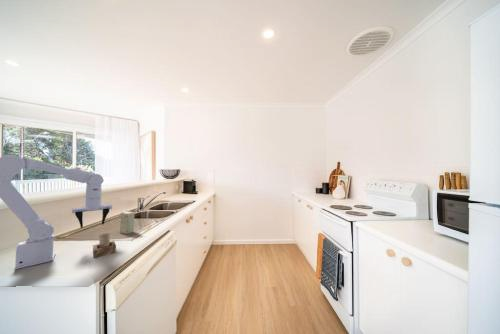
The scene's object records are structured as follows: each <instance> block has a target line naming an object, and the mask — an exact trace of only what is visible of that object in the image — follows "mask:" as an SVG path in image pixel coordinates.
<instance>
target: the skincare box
mask: <svg viewBox="0 0 500 334" xmlns="http://www.w3.org/2000/svg"><path fill="white" fill-rule="evenodd" d="M119 220H120V222H119V223H120V224H119V225H120V226H119V233H120V234H125V235H128V234H130V233H134V230H135V229H134V228H135V225H134V224H135V211H127V210H126V211H123V212H122V211H121V212H120V219H119Z"/></svg>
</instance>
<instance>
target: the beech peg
mask: <svg viewBox="0 0 500 334" xmlns="http://www.w3.org/2000/svg"><path fill="white" fill-rule="evenodd" d="M110 237H111V232H110V233H109V232H107V233H106V232H105V233H100V234H99V241H98V242H99V243H98V244H99V248H104V247H108V246H109V244H110V240H111V239H110Z"/></svg>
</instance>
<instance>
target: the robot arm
mask: <svg viewBox="0 0 500 334" xmlns="http://www.w3.org/2000/svg"><path fill="white" fill-rule="evenodd" d="M24 168H25V170H40V171H44V172H49V173H54V174H57V175H61V176H63V177H64V178H65V180H69V181H73V182H76V183H80V184H86V189H85V203H84V204H85V206H84V207H83V206H82V207H75V208H71V214H74V215H75V217H76V219H77V220H78V221H79V225H80V229H83V227H84V224H83V223H84V222H83V217H84V214H83V213H86V212H93V211H94V212H95V211H102V219H101V224H102V225H105V220H106V218H107V216H108V214H109V212H110V211H111V210H112V209H113V205H112V204H104V205H103V204H102V184H103V183H104V177H103V176H102V175H101V174H99V173H98V174H97V173H95V172H94V173H93V171H88V170H83V169H81V168H80V167H78V166H76V167H69V168H65V167H63V166H58V165H57V164H56V165H55V164H51V163H49V162H46V161H42V160H39V159H35V158H30V157H20V156H19V155H14V154H8V155H2V156H0V199H1V201H2V202H3V203H5V205H6V206H7V207H8V208H9V210H10V211H12V213H13V214H14V215H15V216H16V218H18V219H19V220H20V221H21V223H22V224H23V225H24V227H25V228H26V229H27V233H28V238H27V239H26V240H25V241H22V242H18V243H17V246H16V249H15V265H14V270H18V269H21V268H27V267H31V266H35V265H40V264H45V263H48V262H53V261H54V258H55V256H56V252H54V236H55V235H54V231H55V230H54V227H53V226H52V225H51V223H50V222H49V221H46V220H44V219H43V218H42V217H41V216H40V215H39V214H38V213H37V212H36V210H35V209H34V208H33V207H32V206H31V204H30V203H29V202H28V201H27V200H26V199H25V197H24V196H23V195H22V194H21V192H19V191H18V189H17V188H16V187H15V185H14V184H13V183H12V181H13V179H14V177H15V176H16V174H18V173H19V172H20V171H22V170H23V169H24Z"/></svg>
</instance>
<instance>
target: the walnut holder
mask: <svg viewBox="0 0 500 334" xmlns="http://www.w3.org/2000/svg"><path fill="white" fill-rule="evenodd" d="M116 252H117V244H116V242H115V240H112V241H110V244H109V246H108V247H104V248H99V243H97V244H93V245H92V254H93V255H92V256H93V258H98V257H102V256H106V255H109V254H113V253H116Z"/></svg>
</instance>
